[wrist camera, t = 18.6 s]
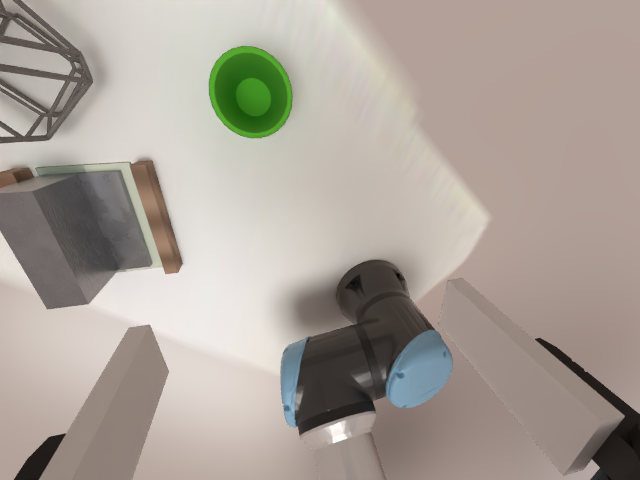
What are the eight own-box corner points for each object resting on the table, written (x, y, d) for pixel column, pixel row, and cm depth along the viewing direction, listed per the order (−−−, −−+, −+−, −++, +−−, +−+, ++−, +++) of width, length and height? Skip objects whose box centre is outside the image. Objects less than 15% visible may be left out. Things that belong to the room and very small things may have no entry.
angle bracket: (43, 174, 39) (-22, 194, 30) (120, 170, 40) (81, 187, 31) (88, 270, 46) (47, 309, 37) (152, 263, 47) (128, 298, 38)
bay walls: (182, 263, 49) (178, 272, 46) (69, 276, 46) (57, 287, 43) (152, 160, 41) (144, 164, 38) (12, 169, 38) (-7, 173, 35)
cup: (260, 143, 43) (260, 154, 33) (208, 99, 39) (191, 97, 29) (297, 95, 41) (308, 92, 31) (246, 44, 37) (241, 23, 27)
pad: (164, 265, 48) (163, 266, 48) (89, 274, 46) (87, 275, 46) (130, 162, 40) (129, 162, 40) (37, 167, 38) (35, 168, 38)
